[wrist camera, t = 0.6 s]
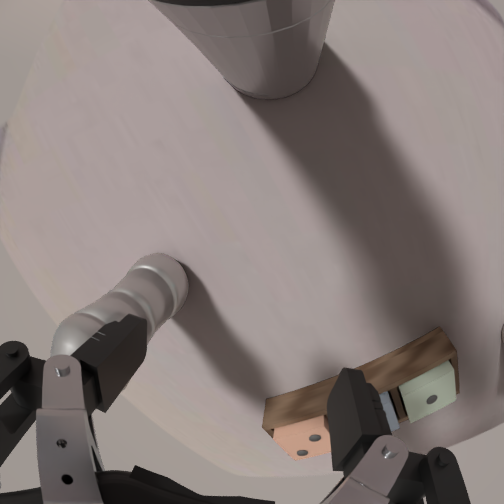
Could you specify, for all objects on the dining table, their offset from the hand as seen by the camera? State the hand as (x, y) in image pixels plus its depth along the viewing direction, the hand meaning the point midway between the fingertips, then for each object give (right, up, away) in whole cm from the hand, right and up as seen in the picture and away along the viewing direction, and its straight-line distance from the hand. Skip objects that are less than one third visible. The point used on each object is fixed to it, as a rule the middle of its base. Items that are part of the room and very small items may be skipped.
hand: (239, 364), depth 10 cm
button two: (+8, -18, +20) cm, 28 cm away
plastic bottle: (-9, +2, +20) cm, 22 cm away
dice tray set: (+15, -14, +21) cm, 29 cm away
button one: (+21, -11, +16) cm, 29 cm away
